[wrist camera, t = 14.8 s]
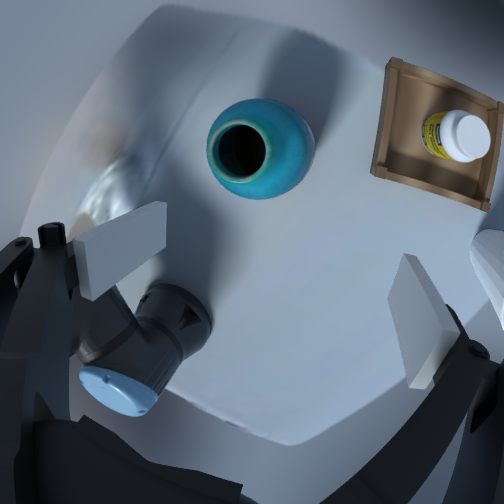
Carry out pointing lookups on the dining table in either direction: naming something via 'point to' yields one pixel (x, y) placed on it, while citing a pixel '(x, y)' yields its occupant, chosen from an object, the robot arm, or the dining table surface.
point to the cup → (490, 266)
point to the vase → (260, 148)
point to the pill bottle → (455, 136)
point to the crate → (410, 143)
